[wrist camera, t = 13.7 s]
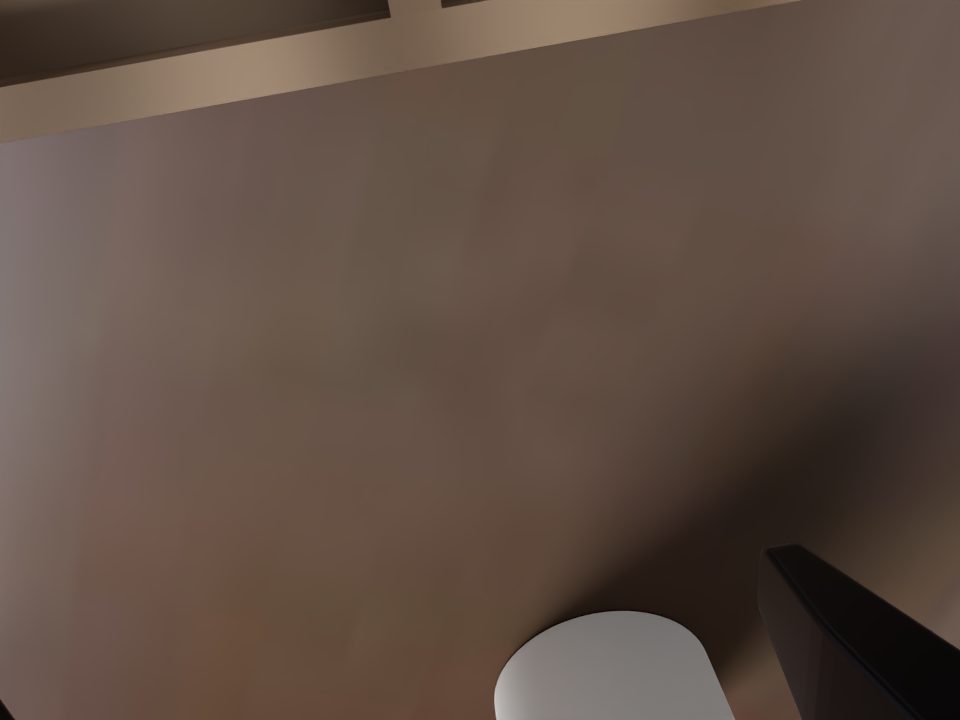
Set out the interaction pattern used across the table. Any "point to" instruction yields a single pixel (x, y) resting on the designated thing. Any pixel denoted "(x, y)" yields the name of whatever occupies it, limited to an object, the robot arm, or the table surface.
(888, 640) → the robot arm
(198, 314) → the table surface
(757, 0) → the bins
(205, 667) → the table surface
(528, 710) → the cup
